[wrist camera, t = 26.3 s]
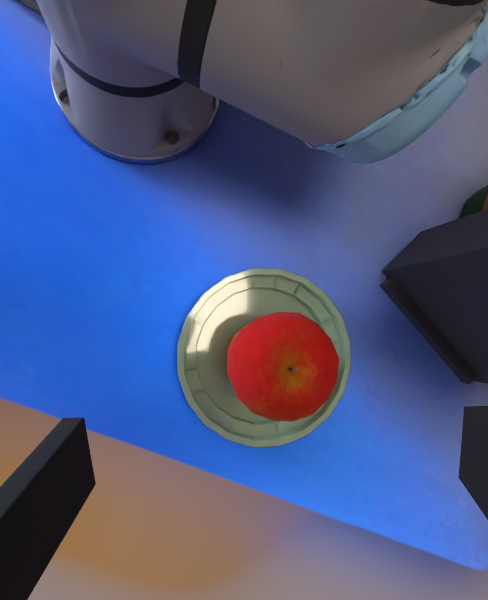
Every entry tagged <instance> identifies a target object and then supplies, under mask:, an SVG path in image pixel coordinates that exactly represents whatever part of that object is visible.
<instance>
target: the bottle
mask: <svg viewBox="0 0 488 600" xmlns="http://www.w3.org/2000/svg"><path fill="white" fill-rule="evenodd" d="M486 209H488V186H486V187H484V188H482V189H481V190H480V191H478V192H477V193H476V194H475V195H473V196H472V197H471V198H470V199H468V200H467V203H466V206H465V208H464V211H463V214H462V217H461V218H463V217H466V216H468V215H471V214H474V213H477V212H480V211H483V210H486Z"/></svg>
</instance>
